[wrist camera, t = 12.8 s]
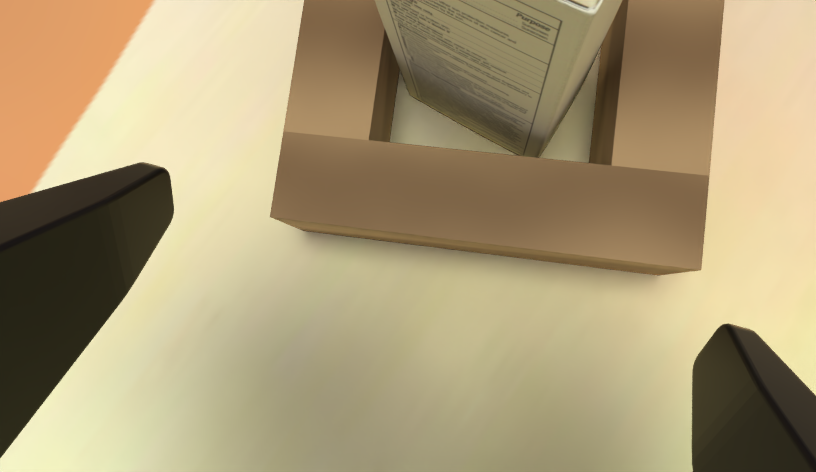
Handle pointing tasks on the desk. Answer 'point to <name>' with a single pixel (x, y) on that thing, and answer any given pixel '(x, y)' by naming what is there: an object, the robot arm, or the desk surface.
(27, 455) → the desk surface
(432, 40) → the skincare box
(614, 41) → the frame
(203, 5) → the desk surface
